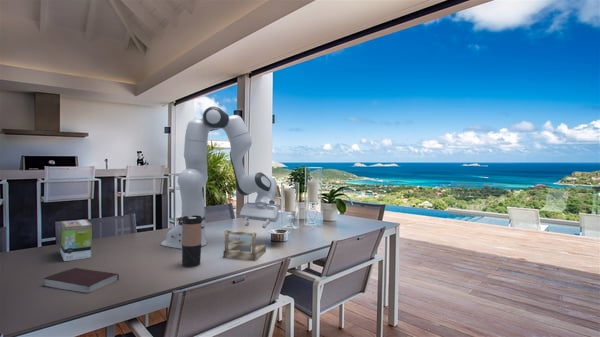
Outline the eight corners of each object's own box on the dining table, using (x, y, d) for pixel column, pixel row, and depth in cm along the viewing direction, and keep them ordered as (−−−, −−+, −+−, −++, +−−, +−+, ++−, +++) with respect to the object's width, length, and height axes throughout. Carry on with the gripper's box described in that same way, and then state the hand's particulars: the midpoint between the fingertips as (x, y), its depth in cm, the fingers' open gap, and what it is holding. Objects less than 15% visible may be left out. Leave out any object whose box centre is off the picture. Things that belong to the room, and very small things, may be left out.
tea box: (92, 257, 141) (92, 224, 141) (63, 262, 135) (63, 226, 134) (86, 249, 153) (86, 218, 152) (59, 253, 146) (60, 220, 146)
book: (76, 274, 122) (76, 266, 122) (119, 280, 118) (119, 271, 118) (42, 287, 110) (42, 278, 110) (88, 295, 106) (88, 285, 105)
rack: (223, 257, 147) (223, 231, 146) (236, 248, 161) (237, 224, 161) (254, 260, 143) (255, 233, 143) (265, 251, 158) (266, 226, 158)
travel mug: (194, 268, 132) (195, 219, 131) (177, 266, 133) (178, 217, 133) (204, 262, 139) (205, 215, 139) (187, 260, 141) (188, 214, 140)
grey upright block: (237, 255, 150) (237, 234, 150) (242, 252, 156) (242, 231, 155) (248, 256, 149) (249, 234, 149) (252, 253, 154) (253, 232, 154)
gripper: (243, 198, 172) (234, 220, 164) (279, 202, 167) (272, 225, 159) (246, 205, 177) (237, 227, 168) (282, 209, 172) (275, 232, 163)
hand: (255, 226), depth 163 cm, fingers open, 8 cm apart
